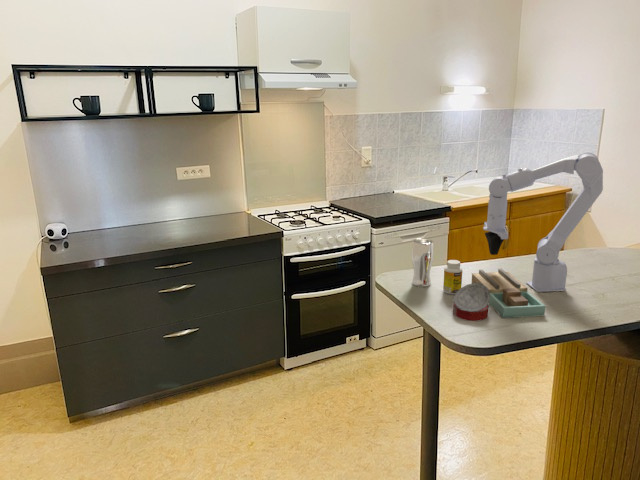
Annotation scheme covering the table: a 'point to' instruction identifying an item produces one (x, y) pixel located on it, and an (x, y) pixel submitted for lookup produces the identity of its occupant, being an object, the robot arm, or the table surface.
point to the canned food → (472, 302)
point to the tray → (517, 311)
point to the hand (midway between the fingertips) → (493, 254)
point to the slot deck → (497, 281)
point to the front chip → (517, 301)
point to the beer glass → (422, 261)
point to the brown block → (510, 294)
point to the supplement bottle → (452, 277)
